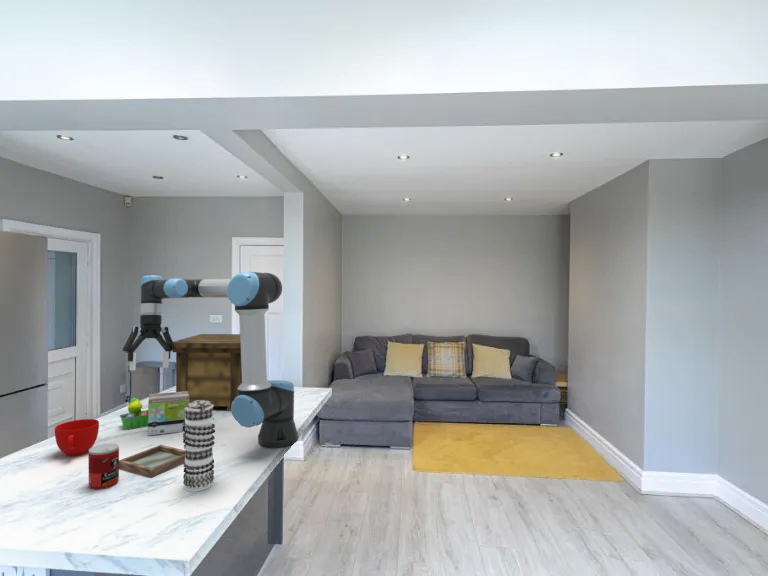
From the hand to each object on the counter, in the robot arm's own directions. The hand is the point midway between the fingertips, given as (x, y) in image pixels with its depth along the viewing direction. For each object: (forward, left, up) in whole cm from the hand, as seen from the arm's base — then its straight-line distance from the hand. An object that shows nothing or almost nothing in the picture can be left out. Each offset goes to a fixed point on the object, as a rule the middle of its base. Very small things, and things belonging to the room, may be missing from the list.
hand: (149, 369), depth 172 cm
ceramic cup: (+7, +23, -27) cm, 36 cm away
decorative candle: (-50, +21, -27) cm, 60 cm away
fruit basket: (+17, -7, -27) cm, 33 cm away
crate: (+12, -49, -27) cm, 57 cm away
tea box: (0, -9, -27) cm, 28 cm away
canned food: (-24, +33, -27) cm, 49 cm away
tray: (-25, +16, -27) cm, 40 cm away
